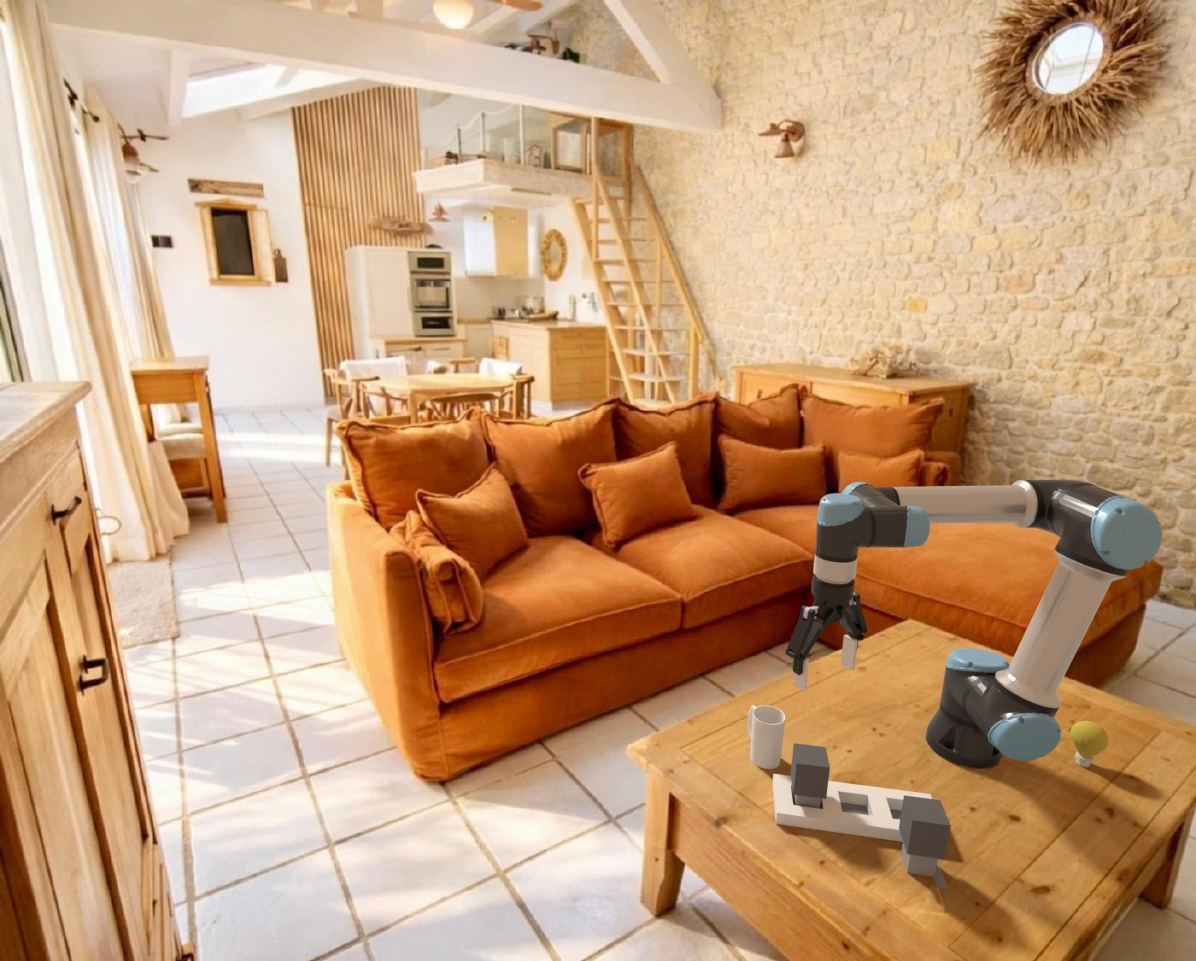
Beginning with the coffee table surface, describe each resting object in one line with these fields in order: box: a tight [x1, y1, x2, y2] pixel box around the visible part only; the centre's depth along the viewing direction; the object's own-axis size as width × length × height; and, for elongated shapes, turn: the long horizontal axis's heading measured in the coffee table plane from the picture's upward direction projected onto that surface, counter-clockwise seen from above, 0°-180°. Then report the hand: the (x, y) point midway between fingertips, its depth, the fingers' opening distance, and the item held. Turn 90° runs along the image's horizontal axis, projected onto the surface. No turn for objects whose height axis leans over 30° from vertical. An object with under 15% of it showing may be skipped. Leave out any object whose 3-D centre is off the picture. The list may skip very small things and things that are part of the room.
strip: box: [771, 773, 933, 843], centre depth 132 cm, size 30×11×4 cm, turn 80°
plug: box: [899, 795, 952, 879], centre depth 119 cm, size 6×6×12 cm
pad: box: [933, 859, 949, 890], centre depth 121 cm, size 8×8×1 cm
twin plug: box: [790, 743, 831, 809], centre depth 132 cm, size 6×6×12 cm
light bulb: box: [1069, 720, 1109, 768], centre depth 147 cm, size 7×7×10 cm
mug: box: [747, 704, 786, 770], centre depth 147 cm, size 10×7×12 cm, turn 23°
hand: (824, 677), depth 133 cm, fingers open, 13 cm apart
